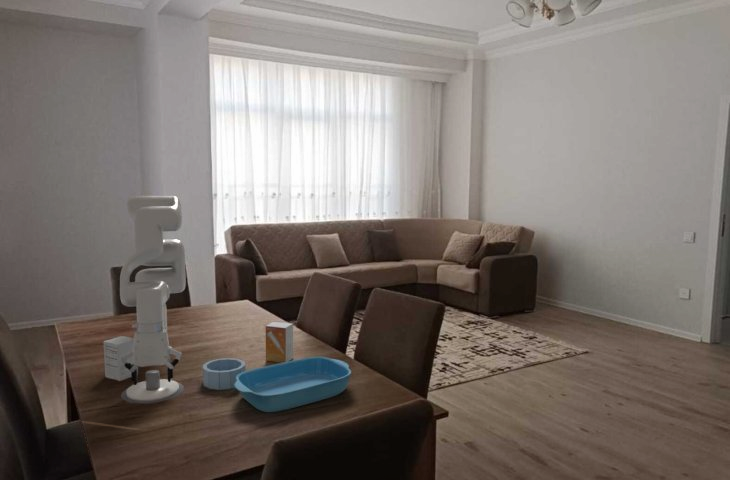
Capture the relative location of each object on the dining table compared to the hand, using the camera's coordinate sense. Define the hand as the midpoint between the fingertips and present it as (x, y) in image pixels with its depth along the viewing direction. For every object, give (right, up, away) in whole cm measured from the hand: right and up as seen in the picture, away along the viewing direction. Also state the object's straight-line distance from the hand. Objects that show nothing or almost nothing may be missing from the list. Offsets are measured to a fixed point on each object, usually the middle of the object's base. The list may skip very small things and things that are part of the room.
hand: (152, 381), depth 170 cm
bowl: (+20, -3, +9) cm, 22 cm away
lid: (0, -3, +1) cm, 3 cm away
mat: (0, -4, +1) cm, 4 cm away
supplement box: (-15, -2, +14) cm, 21 cm away
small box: (+34, 0, +32) cm, 47 cm away
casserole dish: (+43, -4, 0) cm, 43 cm away
